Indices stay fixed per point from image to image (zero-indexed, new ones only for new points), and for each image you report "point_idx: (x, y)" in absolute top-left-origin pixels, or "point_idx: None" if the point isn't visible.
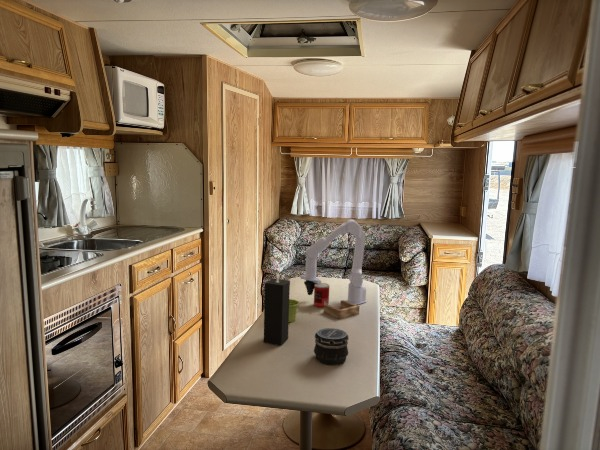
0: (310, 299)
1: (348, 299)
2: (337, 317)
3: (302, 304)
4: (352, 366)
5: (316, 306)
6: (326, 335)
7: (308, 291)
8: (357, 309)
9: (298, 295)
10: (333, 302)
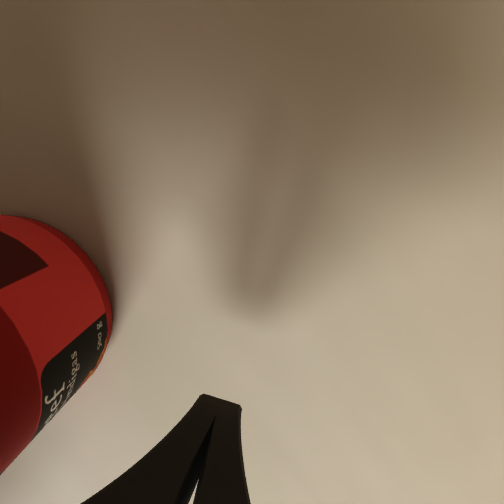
0: (264, 413)
1: None
2: None
3: (215, 180)
4: None
5: (24, 218)
6: None
7: (197, 434)
8: None
9: (489, 467)
10: (26, 453)
